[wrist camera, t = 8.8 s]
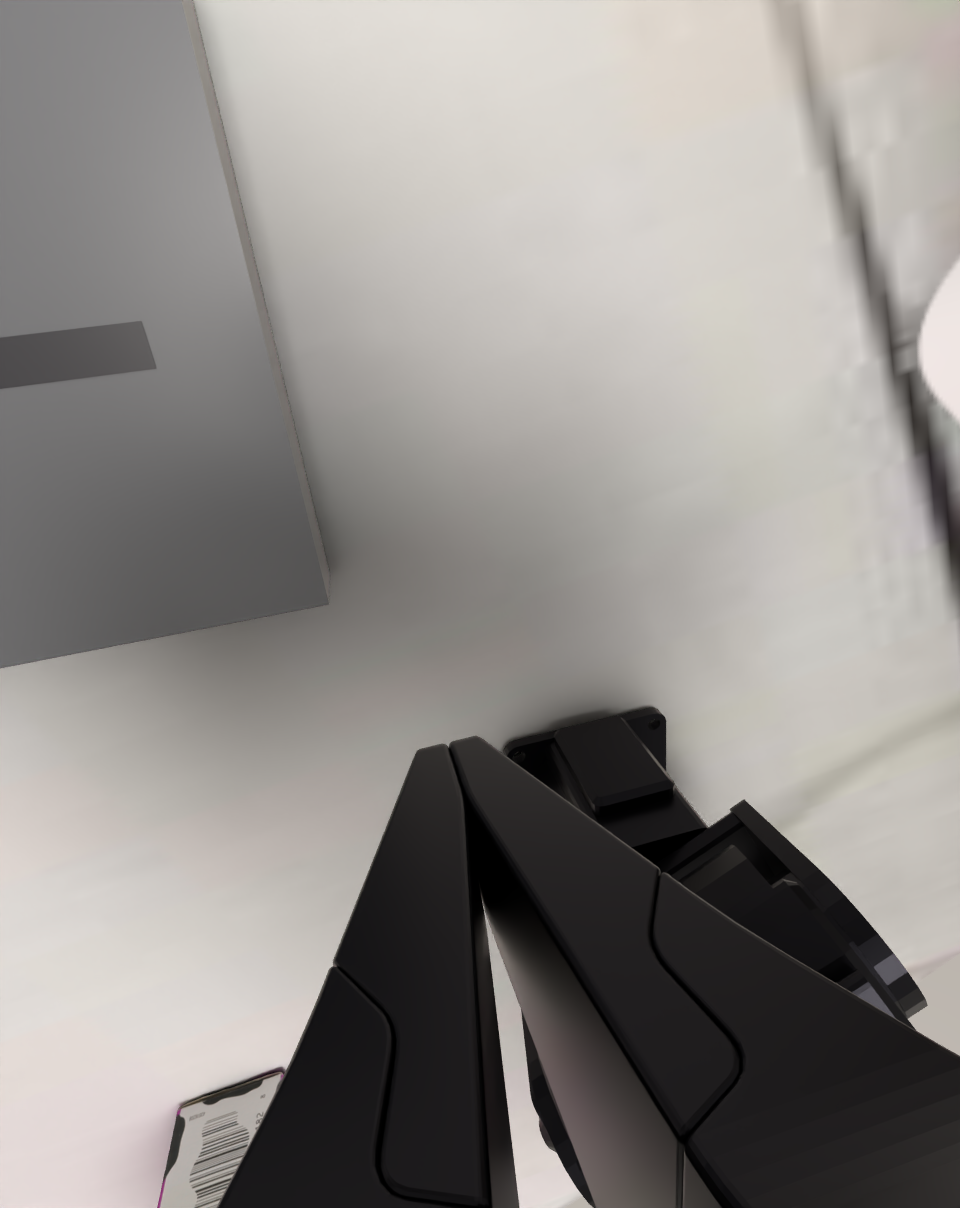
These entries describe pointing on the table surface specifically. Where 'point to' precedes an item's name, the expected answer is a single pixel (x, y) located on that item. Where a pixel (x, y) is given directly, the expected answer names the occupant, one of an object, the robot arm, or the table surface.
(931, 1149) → the robot arm
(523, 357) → the table surface
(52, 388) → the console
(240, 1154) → the candy bar box
